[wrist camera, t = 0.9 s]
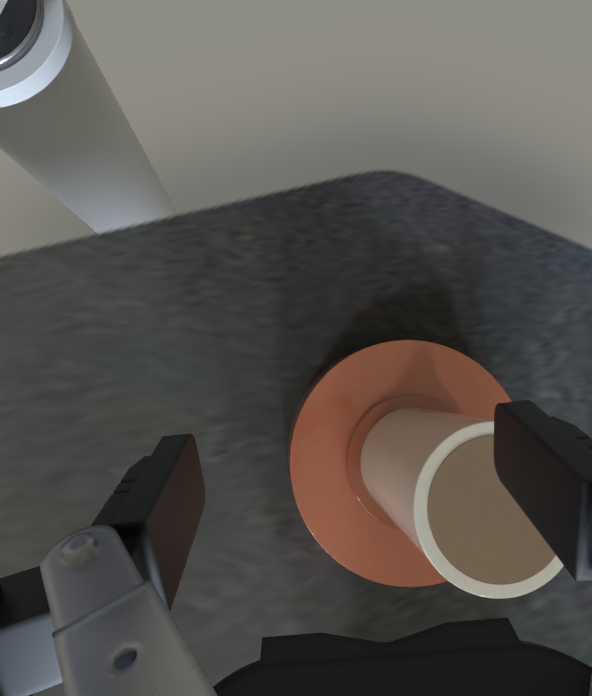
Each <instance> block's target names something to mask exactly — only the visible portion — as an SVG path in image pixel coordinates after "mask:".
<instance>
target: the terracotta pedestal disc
mask: <svg viewBox="0 0 592 696" xmlns="http://www.w3.org/2000/svg"><path fill="white" fill-rule="evenodd" d="M506 402H512V401H511V399H510V398H509V396H508V395H507V393H506V392H505V390H504V389H503V387H502V386H501V385H500V384H499V383H498V382H497V380H496V379H495V378H494V377H493V376H492V375H491V374H490V373H489V372H488V371H487V370H486V369H484V368H483V367H482V366H481V365H480V364H478V363H477V362H475V361H474V360H472V359H471V358H469V357H468V356H466V355H464V354H462V353H460V352H458V351H456V350H454V349H452V348H449V347H446V346H443V345H441V344H437V343H432V342H427V341H419V340H395V341H389V342H384V343H379V344H376V345H373V346H370V347H367V348H364V349H361V350H358V351H356V352H353V353H351V354H349V355H347V356H345V357H343V358H341V359H339V360H338V361H336V362H335V363H333V364H332V365H330V366H329V367H328V368H326V369H325V370H324V371H323V372H322V373H321V374H320V375H319V376H318V377H317V378H316V379H315V380H314V381H313V382H312V383H311V385H310V386H309V387H308V389H307V390H306V392H305V393H304V395H303V396H302V398H301V400H300V402H299V404H298V406H297V408H296V410H295V413H294V416H293V419H292V422H291V426H290V431H289V436H288V447H287V458H288V469H289V474H290V480H291V484H292V489H293V493H294V497H295V500H296V503H297V506H298V509H299V511H300V513H301V515H302V517H303V520H304V522H305V524H306V526H307V527H308V529H309V530H310V532H311V533H312V535H313V536H314V538H315V539H316V540H317V542H318V543H319V544H320V545H321V546H322V547H323V549H324V550H325V551H326V552H327V553H328V554H329V555H331V556H332V557H333V558H334V559H335V560H336V561H337V562H339V563H340V564H342V565H343V566H344V567H346V568H347V569H349V570H350V571H352V572H354V573H356V574H358V575H360V576H362V577H364V578H366V579H369V580H372V581H375V582H378V583H381V584H387V585H392V586H397V587H421V586H430V585H434V584H439V583H443V582H446V581H448V580H447V579H446V578H444V577H443V576H442V575H441V574H440V573H439V572H438V571H437V570H436V569H435V568H434V566H433V565H432V564H431V563H430V562H429V561H428V560H427V559H426V558H425V556H424V555H423V554H422V553H421V552H420V551H419V550H418V549H417V548H416V546H415V545H414V544H413V543H412V542H411V541H410V540H409V539H408V538H407V536H406V535H405V534H404V533H403V532H402V531H401V530H400V529H399V528H398V526H397V525H396V524H395V523H394V522H393V521H392V520H391V519H390V517H389V516H388V515H387V514H386V513H385V512H384V511H383V510H382V509H381V507H380V506H379V505H378V504H377V503H376V502H375V501H374V500H373V498H372V497H371V495H370V494H369V492H368V491H367V489H366V486H365V484H364V481H363V478H362V473H361V464H360V462H361V452H362V448H363V445H364V442H365V439H366V437H367V435H368V434H369V432H370V430H371V429H372V428H373V427H374V425H375V424H376V423H377V422H378V421H379V420H380V419H382V418H383V417H384V416H386V415H387V414H389V413H391V412H393V411H396V410H399V409H403V408H408V407H420V408H427V409H433V410H439V411H446V412H452V413H458V414H465V415H471V416H477V417H483V418H490V419H494V411H495V407H496V405H497V404H498V403H506Z"/></svg>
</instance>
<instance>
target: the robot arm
mask: <svg viewBox="0 0 592 696" xmlns="http://www.w3.org/2000/svg"><path fill="white" fill-rule="evenodd" d="M43 21H44V4H43V0H0V72H1V71H3V70H5V69H7V68H9V67H11V66H13V65H14V64H16V63H17V62H19V61H20V60H21V59H22V58H23V57H24V56H25V55H27V54H28V52H29V51H30V50H31V49H32V47H33V46H34V44H35V43H36V41H37V39H38V37H39V35H40V32H41V29H42V26H43ZM494 465H495V469H496V473H497V475H498V478H499V479H500V481H501V483H502V484H503V485H504V487H505V488H506V489H507V491H508V492H509V493H510V495H511V496H512V497H513V499H514V500H515V501H516V502H517V504H518V505H519V506H520V508H521V509H522V510H523V512H524V513H525V514H526V516H527V517H528V518H529V520H530V521H531V522H532V524H533V525H534V526H535V528H536V529H537V530H538V532H539V533H540V534H541V536H542V537H543V538H544V540H545V541H546V542H547V544H548V545H549V546H550V548H551V549H552V550H553V552H554V553H555V554H556V556H557V557H558V558H559V560H560V561H561V562H562V564H563V565H564V566H565V568H566V569H567V570H568V572H569V573H570V574H571V576H572V577H573V578H574V579H575V581H576V582H577V581H589V580H592V439H589V436H588V435H586V434H585V433H584V432H583V431H581V430H580V429H579V428H577V427H576V426H575V425H573V424H570V423H568V422H565V421H563V420H561V419H558V418H556V417H549V416H548V415H547V414H546V413H544V412H543V411H542V410H541V409H539V408H538V407H537V406H536V405H535V404H533V403H532V402H531V401H528V400H525V401H516V402H506V403H498V404H497V405H496V407H495V411H494ZM204 505H205V485H204V480H203V475H202V470H201V465H200V460H199V455H198V450H197V445H196V441H195V438H194V436H193V435H192V434H183V435H173V436H164V437H163V438H162V439H161V441H160V442H159V444H158V446H157V447H156V449H155V450H154V452H153V454H152V455H151V456H146V457H143V458H142V459H141V460H139V461H138V462H137V463H136V464H134V465H133V466H132V467H130V468H129V470H128V471H127V473H126V474H125V476H124V477H123V479H122V480H121V483H119V485H118V486H117V488H116V489H115V490H114V494H112V495H111V496H110V498H109V499H108V501H107V502H106V504H105V505H104V507H103V508H102V510H101V511H100V513H99V514H98V516H97V517H96V519H95V520H94V522H93V523H92V525H91V526H90V527H86V528H83V529H80V530H77V531H75V532H72V533H70V534H68V535H67V536H65V537H63V538H62V539H60V540H59V541H58V542H56V543H55V544H54V545H53V546H52V547H50V549H49V550H48V551H47V552H46V553H45V555H44V556H43V558H42V560H41V563H40V566H38V567H35V568H32V569H29V570H26V571H23V572H19V573H16V574H13V575H10V576H6V577H3V578H0V696H32V695H33V694H34V693H36V692H39V691H41V690H44V689H47V688H49V687H52V686H54V685H57V684H60V683H62V682H63V686H64V690H65V695H66V696H592V667H590V666H588V665H587V664H585V663H583V662H581V661H579V660H577V659H575V658H573V657H571V656H569V655H567V654H564V653H562V652H560V651H557V650H554V649H551V648H549V647H546V646H542V645H539V644H535V643H531V642H527V641H521V640H519V639H518V637H517V635H516V633H515V631H514V629H513V627H512V625H511V623H510V621H509V619H508V618H499V619H486V620H474V621H461V622H449V623H444V624H441V625H438V626H436V627H433V628H430V629H427V630H424V631H421V632H418V633H415V634H413V635H410V636H407V637H404V638H401V639H398V640H395V641H392V642H387V643H382V642H375V641H369V640H363V639H356V638H350V637H344V636H338V635H332V634H326V633H313V634H301V635H288V636H276V637H264V638H262V648H261V659H260V660H259V661H256V662H254V663H251V664H249V665H247V666H245V667H243V668H241V669H239V670H237V671H235V672H233V673H232V674H230V675H229V676H227V677H225V678H224V679H223V680H221V681H220V682H219V683H218V684H216V685H215V686H214V687H212V685H211V683H210V682H209V680H208V678H207V676H206V675H205V673H204V671H203V669H202V668H201V666H200V664H199V662H198V661H197V659H196V657H195V655H194V654H193V652H192V650H191V648H190V647H189V645H188V643H187V641H186V640H185V638H184V636H183V634H182V633H181V631H180V629H179V627H178V626H177V624H176V622H175V620H174V619H173V617H172V615H171V613H170V610H171V607H172V604H173V601H174V598H175V595H176V592H177V589H178V586H179V583H180V580H181V576H182V573H183V570H184V567H185V564H186V561H187V558H188V555H189V552H190V549H191V546H192V543H193V540H194V537H195V534H196V531H197V528H198V525H199V522H200V518H201V515H202V512H203V509H204Z"/></svg>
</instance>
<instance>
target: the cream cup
mask: <svg viewBox="0 0 592 696" xmlns="http://www.w3.org/2000/svg"><path fill="white" fill-rule="evenodd" d="M360 464H361V473H362V478H363V481H364V484H365V486H366V489H367V491H368V492H369V494H370V495H371V497H372V498H373V500H374V501H375V502H376V503H377V504H378V505H379V506H380V507H381V509H382V510H383V511H384V512H385V513H386V514H387V515H388V516H389V517H390V519H391V520H392V521H393V522H394V523H395V524H396V525H397V526H398V528H399V529H400V530H401V531H402V532H403V533H404V534H405V535H406V536H407V538H408V539H409V540H410V541H411V542H412V543H413V544H414V545H415V546H416V548H417V549H418V550H419V551H420V552H421V553H422V554H423V555H424V556H425V558H426V559H427V560H428V561H429V562H430V563H431V564H432V565H433V566H434V568H435V569H436V570H437V571H438V572H439V573H440V574H441V575H442V576H443V577H444V578H446V579H447V580H448V581H449V582H451V583H452V584H454V585H455V586H457V587H458V588H460V589H462V590H464V591H466V592H468V593H471V594H474V595H477V596H482V597H487V598H500V599H502V598H513V597H517V596H521V595H524V594H527V593H529V592H532V591H534V590H536V589H538V588H539V587H541V586H543V585H544V584H546V583H547V582H548V581H550V580H551V579H552V578H553V577H554V576H555V575H556V574H557V573H558V572H559V571H560V570H561V569H562V567H563V566H564V565H563V564H562V562H561V561H560V560H559V558H558V557H557V556H556V554H555V553H554V552H553V550H552V549H551V548H550V546H549V545H548V544H547V542H546V541H545V540H544V538H543V537H542V536H541V534H540V533H539V532H538V530H537V529H536V528H535V526H534V525H533V524H532V522H531V521H530V520H529V518H528V517H527V516H526V514H525V513H524V512H523V510H522V509H521V508H520V506H519V505H518V504H517V502H516V501H515V500H514V499H513V497H512V496H511V495H510V493H509V492H508V491H507V489H506V488H505V487H504V485H503V484H502V483H501V481H500V479H499V478H498V475H497V473H496V469H495V465H494V419H490V418H483V417H477V416H471V415H465V414H458V413H452V412H446V411H439V410H433V409H427V408H420V407H408V408H403V409H399V410H396V411H393V412H391V413H389V414H387V415H386V416H384V417H383V418H382V419H380V420H379V421H378V422H377V423H376V424H375V425H374V427H373V428H372V429H371V430H370V432H369V434H368V435H367V437H366V439H365V442H364V445H363V448H362V452H361V462H360Z"/></svg>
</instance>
